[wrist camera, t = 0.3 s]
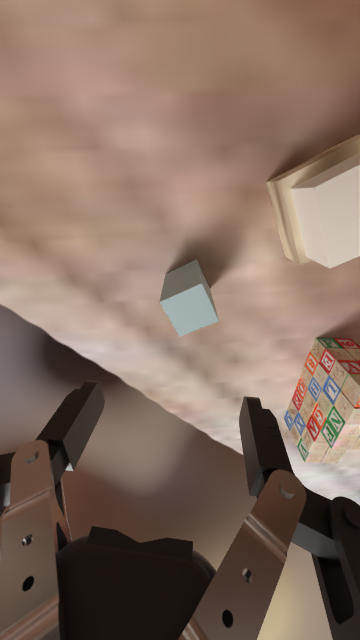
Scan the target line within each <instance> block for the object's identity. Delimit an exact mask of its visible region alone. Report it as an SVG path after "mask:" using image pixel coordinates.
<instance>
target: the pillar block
mask: <svg viewBox="0 0 360 640" xmlns="http://www.w3.org/2000/svg"><path fill="white" fill-rule="evenodd" d="M160 304H161V305H162V307H163V309H164V311H165V312H166V314H167V316H168V317H169V319H170V321H171V323H172V324H173V326H174V328H175V329H176V331H177V333H178V335H179V336H183V335H185V334H188V333H190V332H193V331H195V330H198V329H200V328H203V327H205V326H207V325H210V324H212V323H215V322H217V321H219V319H218V315H217V312H216V308H215V305H214V301H213V298H212V295H211V291H210V288H209V286H208V283H207V281H206V279H205V277H204V275H203V272H202V270H201V268H200V266H199V263H198V261H197V259H196V260H194V261H192V262H189V263H187V264H185V265H183V266H181V267H179V268H177V269H175V270H173V271H171V272H169V273H166V275H165V279H164V284H163V289H162V293H161V298H160Z"/></svg>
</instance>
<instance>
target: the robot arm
mask: <svg viewBox="0 0 360 640" xmlns="http://www.w3.org/2000/svg"><path fill="white" fill-rule="evenodd" d="M103 408H104V395H103V390H102V384H101V382H98V381H89V380H87V381H85V383H84V384H83V385H82V387H81V389H75V390H74V391H72V392H71V393H70V394H69V395H67V397H66V398H65V399H64V401H63V402H62V403H61V405H60V407H59V408H58V409H57V411H56V412H55V413H54V415H53V416H52V418H51V419H50V420H49V422H48V423H47V425H46V426H45V427H44V429H43V430H42V432H41V433H40V435H39V436H38V437H37V439H36V440H35V441H31V442H29V443H27V444H25V445H24V446H22V447H21V448H20V449H19V450H18V451H17V452H13V453H8V454H3V455H0V516H1V514H2V513H3V511H4V510H5V508H6V506H7V505H9V510H8V511H7V512H5V514H4V517H3V524H2V539H1V540H2V541H1V554H0V640H257V637H258V635H259V632H260V629H261V627H262V624H263V621H264V618H265V616H266V613H267V610H268V607H269V605H270V602H271V599H272V596H273V594H274V591H275V588H276V586H277V583H278V580H279V578H280V575H281V572H282V570H283V567H284V564H285V561H286V557H287V551H288V548H289V545H290V542H293V543H295V544H296V545H298V546H300V547H302V548H304V549H305V550H307V551H309V552H311V555H312V559H313V562H314V566H315V570H316V574H317V578H318V582H319V586H320V590H321V594H322V598H323V602H324V606H325V610H326V614H327V618H328V622H329V626H330V630H331V634H332V638H333V640H360V505H358V504H357V503H356V502H354V501H352V500H351V499H348V498H346V497H336V498H334V499H333V500H330V499H327V498H325V497H323V496H321V495H319V494H317V493H314V492H312V491H311V490H309V489H307V488H306V487H305V486H304V485H303V484H302V483H301V482H300V480H299V479H298V478H297V477H296V476H295V474H294V473H293V470H292V467H291V464H290V461H289V458H288V455H287V452H286V448H285V445H284V442H283V439H282V436H281V433H280V430H279V426H278V423H277V420H276V418H275V416H274V415H273V414H272V412H271V411H270V410H269V409H262V406H261V402H260V399H259V398H255V397H244V399H243V403H242V407H241V412H240V417H239V427H240V434H241V441H242V448H243V455H244V461H245V469H246V475H247V482H248V489H249V495H252V496H256V497H257V501H256V503H255V505H254V506H253V508H252V510H251V512H250V514H249V515H248V516H247V518H246V519H245V521H244V522H243V524H242V526H241V528H240V530H239V532H238V533H237V535H236V537H235V539H234V541H233V542H232V544H231V546H230V548H229V550H228V552H227V553H226V555H225V557H224V559H223V561H222V562H221V565H220V566H219V568H218V570H217V572H216V570H215V569H214V567H213V566H212V565H211V564H210V562H209V561H208V560H207V559H206V558H205V557H203V556H202V555H201V554H200V553H198V552H196V551H195V550H193V542H192V541H186V540H179V539H173V538H163V539H158V540H153V541H148V542H143V543H139V542H137V541H135V540H133V539H131V538H130V537H128V536H126V535H124V534H122V533H120V532H119V531H117V530H113V529H107V528H100V527H92V528H91V531H90V533H89V535H85V536H83V537H80V538H78V539H76V540H74V541H72V539H71V534H70V529H69V525H68V521H67V515H66V508H65V500H64V493H63V487H62V486H63V485H62V479H61V477H62V475H63V473H64V472H65V470H70V471H73V470H74V469H75V466H76V464H77V462H78V460H79V458H80V456H81V454H82V452H83V450H84V448H85V446H86V444H87V442H88V440H89V438H90V436H91V434H92V432H93V430H94V428H95V426H96V424H97V422H98V420H99V418H100V416H101V413H102V411H103Z"/></svg>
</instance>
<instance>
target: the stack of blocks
mask: <svg viewBox="0 0 360 640" xmlns="http://www.w3.org/2000/svg"><path fill="white" fill-rule="evenodd" d="M284 420H285V422H286V424H287V426H288V429H289V431H290V433H291V435H292V438H293V440H294V442H295V444H296V446H297V447H298V449H299V452H300V454H301V456H302V458H303V460H304V462H314V463H321V462H324V463H338V461H339V459H340V458H341V456H342V455H343V453H344V452H345V451H346V450H350V449H360V346H359V345H357V344H356V343H355V342H354V341H353V340H351V339H336V338H334V339H330V338H316V339H315V341H314V344H313V346H312V349H311V351H310V353H309V355H308V358H307V360H306V363H305V366H304V368H303V370H302V373H301V375H300V379H299V382H298V385H297V387H296V391H295V393H294V396H293V398H292V400H291V402H290V405H289V408H288V410H287V413H286V416H285V418H284Z"/></svg>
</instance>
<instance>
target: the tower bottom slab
mask: <svg viewBox="0 0 360 640" xmlns="http://www.w3.org/2000/svg"><path fill="white" fill-rule="evenodd" d="M358 153H360V134H358V135H355V136H352V137H351V138H349V139H347V140H345V141H343V142H341V143H339V144H337V145H335V146H333V147H332V148H330V149H328V150H326V151H324V152H322V153H320V154H318V155H316V156H315V157H313V158H311V159H309V160H307V161H305V162H303V163H301V164H299V165H298V166H296V167H294V168H292V169H290V170H288V171H286V172H284V173H282V174H281V175H279V176H277V177H275V178H273V179H271V180H269V181H267V182H266V185H267V188H268V192H269V196H270V200H271V204H272V207H273V211H274V215H275V219H276V223H277V226H278V230H279V234H280V238H281V242H282V245H283V249H284V253H285V256H286V257H287V258H289V259H291V260H292V261H294V262H296V263H297V264H299V265H302V264H305V263H307V262H309V261H312V259H310V258H308V257H306V253H305V249H304V245H303V240H302V236H301V232H300V228H299V223H298V219H297V215H296V210H295V206H294V202H293V198H292V193H291V188H293V187H295V186H297V185H299V184H301V183H302V182H304V181H306V180H308V179H310V178H312V177H314V176H316V175H318V174H320V173H322V172H323V171H325V170H327V169H329V168H331V167H333V166H335V165H337V164H339V163H341V162H343V161H344V160H346V159H348V158H350V157H352V156H354V155H356V154H358Z"/></svg>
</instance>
